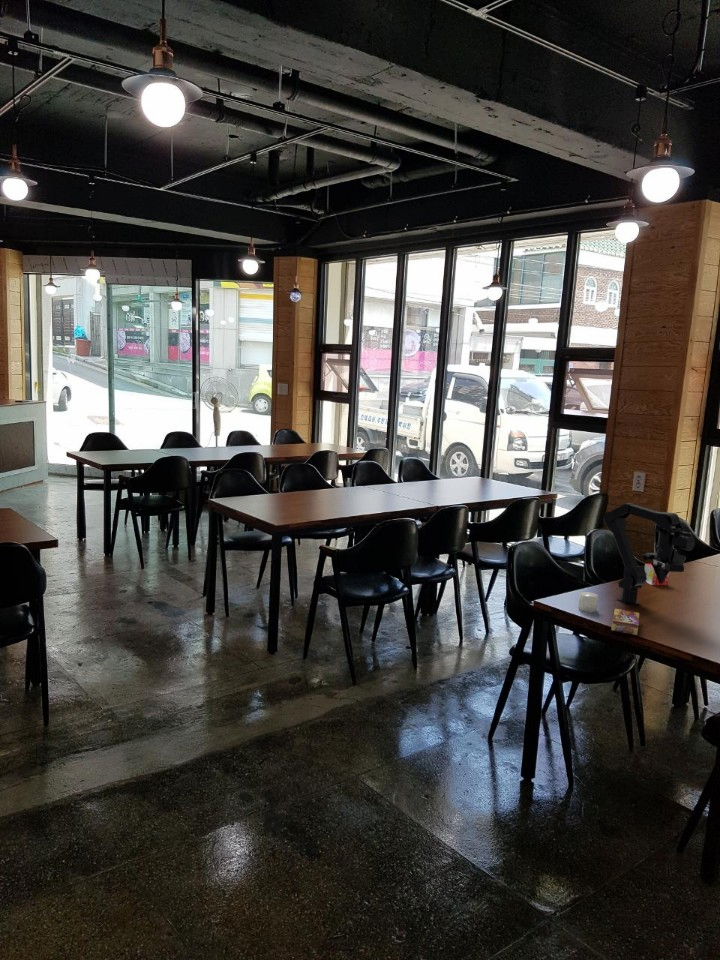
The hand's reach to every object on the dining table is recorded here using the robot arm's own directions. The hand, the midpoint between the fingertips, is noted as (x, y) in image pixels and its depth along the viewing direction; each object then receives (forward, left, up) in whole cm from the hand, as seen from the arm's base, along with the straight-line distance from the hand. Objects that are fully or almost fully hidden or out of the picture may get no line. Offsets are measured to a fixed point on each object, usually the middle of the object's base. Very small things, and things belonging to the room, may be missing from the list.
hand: (660, 583), depth 279 cm
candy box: (+9, -20, -10) cm, 24 cm away
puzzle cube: (-39, +27, -12) cm, 49 cm away
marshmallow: (-3, -29, -12) cm, 31 cm away
